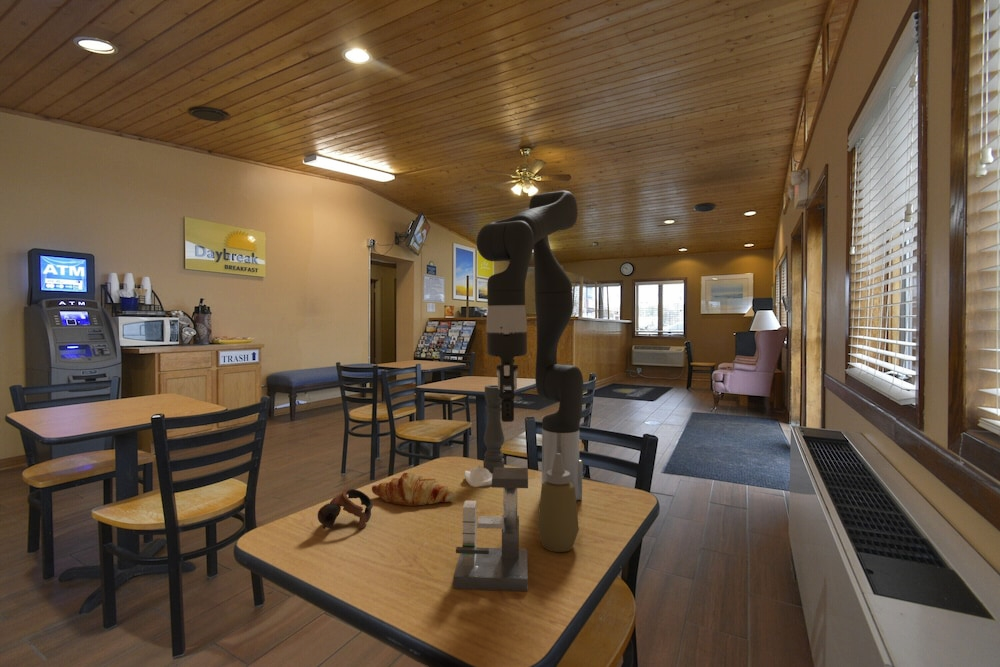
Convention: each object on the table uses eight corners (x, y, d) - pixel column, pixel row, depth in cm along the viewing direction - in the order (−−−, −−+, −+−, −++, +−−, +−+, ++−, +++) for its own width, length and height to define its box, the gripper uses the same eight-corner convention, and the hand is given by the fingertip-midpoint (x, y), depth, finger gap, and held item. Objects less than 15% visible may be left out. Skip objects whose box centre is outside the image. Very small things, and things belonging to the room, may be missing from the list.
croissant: (457, 512, 115) (460, 478, 118) (450, 507, 106) (454, 471, 109) (375, 506, 117) (381, 473, 120) (361, 501, 108) (368, 466, 111)
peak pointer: (488, 551, 78) (488, 547, 78) (488, 554, 77) (488, 550, 77) (456, 550, 78) (456, 546, 78) (455, 553, 77) (455, 549, 77)
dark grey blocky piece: (527, 523, 82) (527, 468, 82) (527, 539, 76) (528, 479, 76) (480, 522, 83) (480, 467, 82) (477, 537, 77) (477, 478, 76)
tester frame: (527, 559, 84) (527, 494, 84) (527, 591, 74) (527, 517, 74) (461, 557, 85) (462, 493, 85) (453, 588, 75) (454, 515, 75)
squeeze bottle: (552, 559, 84) (552, 462, 84) (529, 541, 91) (529, 451, 91) (587, 550, 88) (588, 456, 88) (562, 533, 95) (563, 446, 95)
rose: (454, 466, 127) (479, 458, 134) (454, 482, 127) (479, 473, 134) (480, 474, 120) (505, 465, 127) (480, 490, 120) (505, 481, 127)
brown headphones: (340, 514, 105) (359, 483, 105) (365, 542, 101) (385, 510, 101) (298, 520, 95) (319, 486, 95) (324, 551, 90) (346, 515, 90)
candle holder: (505, 467, 139) (505, 385, 138) (503, 474, 132) (503, 388, 132) (484, 467, 139) (485, 384, 139) (481, 473, 133) (482, 387, 133)
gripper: (488, 329, 93) (490, 408, 94) (484, 331, 79) (485, 425, 80) (525, 328, 93) (526, 408, 94) (528, 331, 79) (529, 425, 79)
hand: (508, 415), depth 87 cm, fingers open, 8 cm apart
